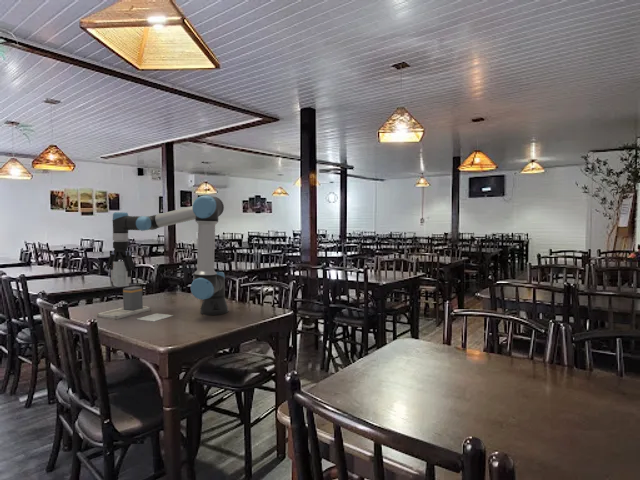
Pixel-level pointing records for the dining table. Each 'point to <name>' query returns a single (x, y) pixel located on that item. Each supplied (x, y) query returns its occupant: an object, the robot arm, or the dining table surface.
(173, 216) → the robot arm
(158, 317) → the mat
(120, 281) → the small box
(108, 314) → the beige rectangular board
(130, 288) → the twin block
